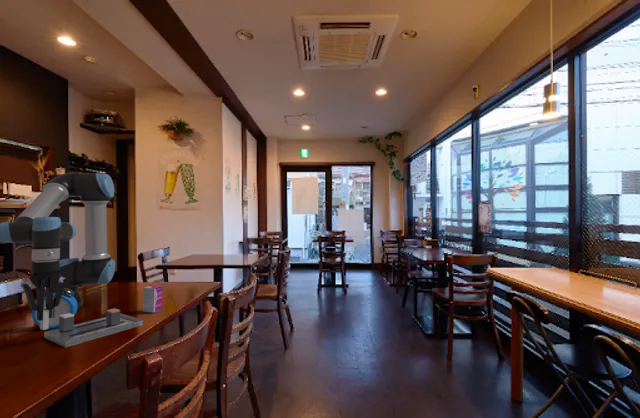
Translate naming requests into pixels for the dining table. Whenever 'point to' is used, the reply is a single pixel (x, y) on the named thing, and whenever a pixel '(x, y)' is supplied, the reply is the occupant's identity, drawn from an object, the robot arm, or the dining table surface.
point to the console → (91, 330)
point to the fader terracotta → (112, 316)
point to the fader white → (66, 322)
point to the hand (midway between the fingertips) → (44, 328)
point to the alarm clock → (59, 308)
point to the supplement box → (152, 299)
